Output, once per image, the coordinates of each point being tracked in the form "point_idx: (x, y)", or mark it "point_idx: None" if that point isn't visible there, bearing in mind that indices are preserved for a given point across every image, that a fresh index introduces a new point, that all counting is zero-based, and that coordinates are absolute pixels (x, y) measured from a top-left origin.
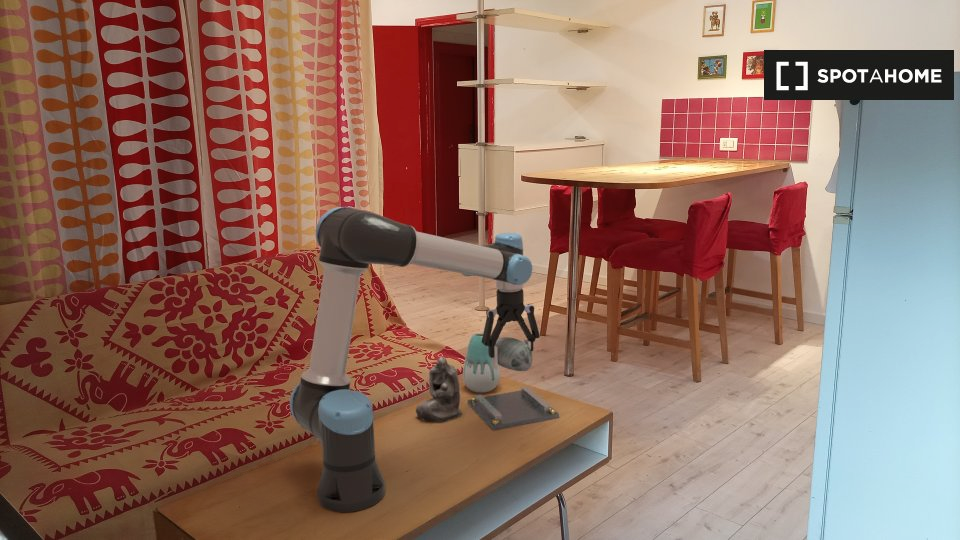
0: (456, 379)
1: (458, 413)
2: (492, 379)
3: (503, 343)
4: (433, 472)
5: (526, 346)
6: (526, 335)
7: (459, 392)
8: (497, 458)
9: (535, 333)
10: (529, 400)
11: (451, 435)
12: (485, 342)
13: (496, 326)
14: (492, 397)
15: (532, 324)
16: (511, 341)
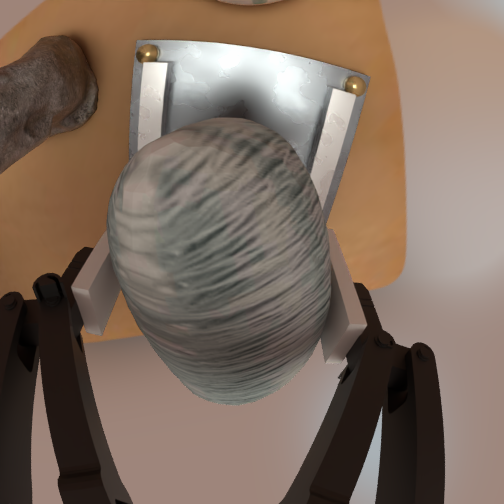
0: (9, 166)
1: (76, 128)
2: (255, 2)
3: (151, 335)
4: (26, 293)
5: (261, 398)
6: (346, 379)
7: (61, 108)
8: (112, 312)
9: (384, 405)
10: (310, 150)
11: (51, 205)
12: (20, 348)
13: (62, 446)
14: (219, 60)
15: (380, 466)
16: (202, 371)
